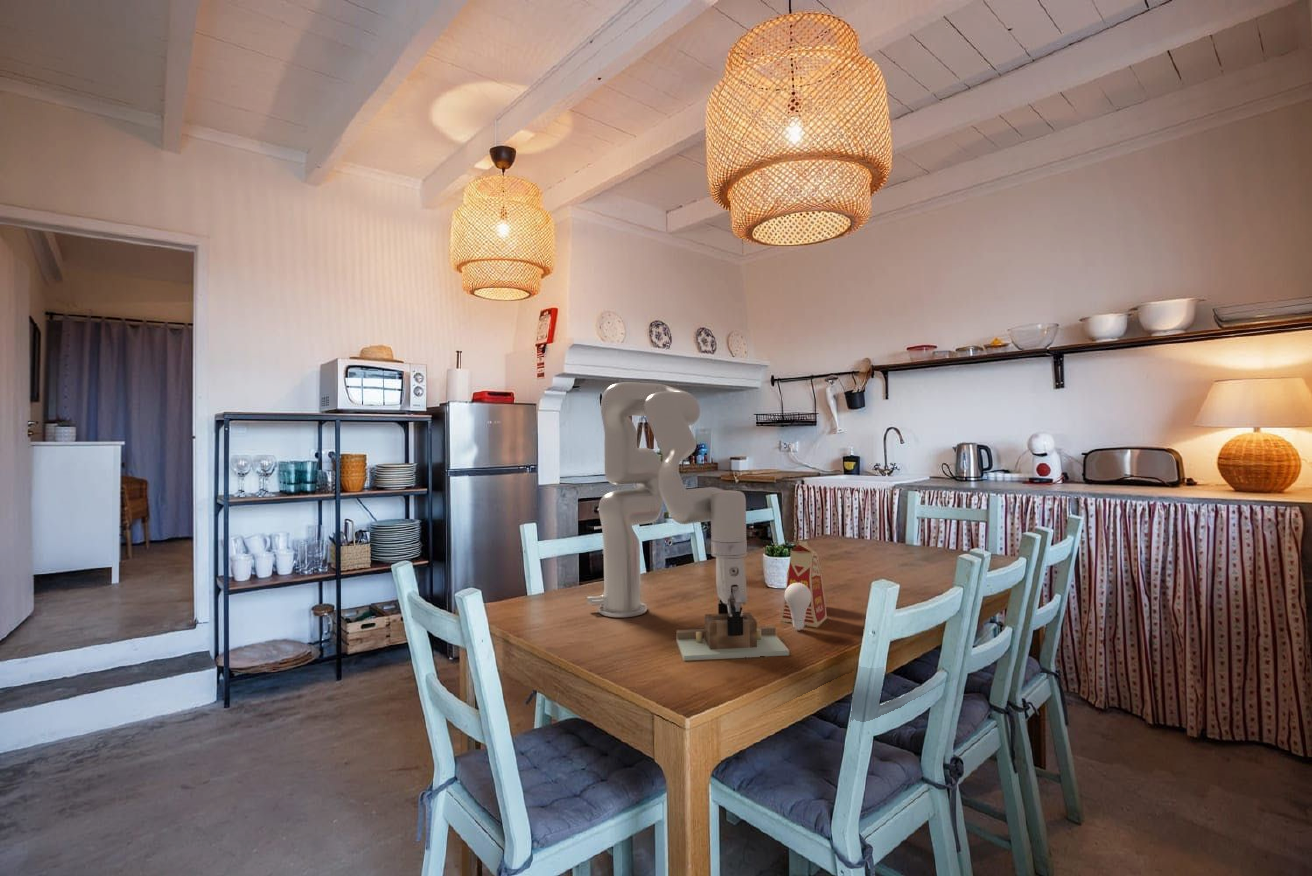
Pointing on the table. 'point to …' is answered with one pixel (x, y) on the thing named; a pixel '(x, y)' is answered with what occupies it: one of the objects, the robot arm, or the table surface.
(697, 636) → the board
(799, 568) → the milk carton
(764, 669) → the table surface
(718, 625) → the wooden box
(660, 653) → the table surface
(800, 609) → the lightbulb
